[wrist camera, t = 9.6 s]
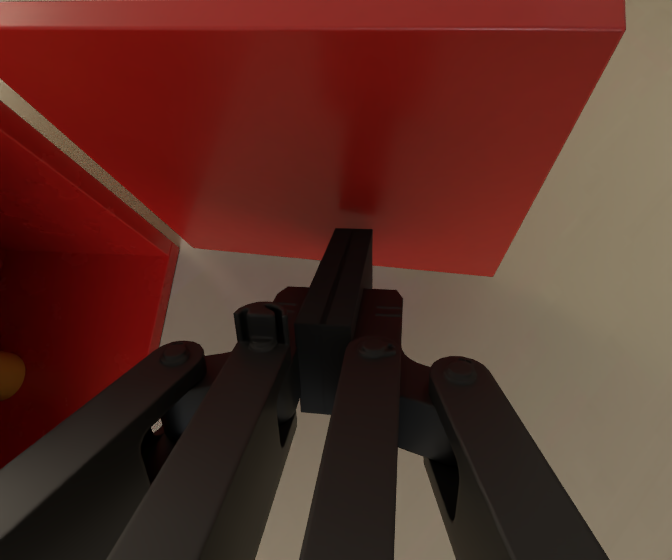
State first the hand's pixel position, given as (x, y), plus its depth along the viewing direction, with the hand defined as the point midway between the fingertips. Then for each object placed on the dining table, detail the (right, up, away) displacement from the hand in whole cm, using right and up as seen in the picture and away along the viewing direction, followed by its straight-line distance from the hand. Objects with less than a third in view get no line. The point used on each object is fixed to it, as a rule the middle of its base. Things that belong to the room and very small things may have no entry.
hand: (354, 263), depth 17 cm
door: (0, +2, +5) cm, 5 cm away
